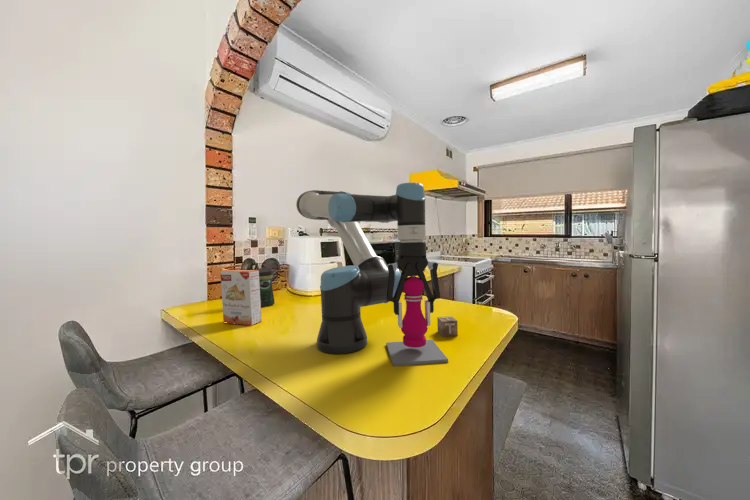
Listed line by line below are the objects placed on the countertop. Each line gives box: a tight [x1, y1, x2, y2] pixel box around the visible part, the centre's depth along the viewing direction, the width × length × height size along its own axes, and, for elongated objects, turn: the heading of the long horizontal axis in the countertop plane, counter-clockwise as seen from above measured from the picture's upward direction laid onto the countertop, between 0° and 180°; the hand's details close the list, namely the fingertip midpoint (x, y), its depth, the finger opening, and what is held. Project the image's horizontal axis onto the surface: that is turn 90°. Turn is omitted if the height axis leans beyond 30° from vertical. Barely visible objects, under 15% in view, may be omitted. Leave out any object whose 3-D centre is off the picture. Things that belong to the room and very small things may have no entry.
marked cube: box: [436, 316, 459, 338], centre depth 93 cm, size 5×5×5 cm
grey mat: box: [385, 339, 449, 367], centre depth 79 cm, size 14×14×1 cm
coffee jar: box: [254, 267, 275, 308], centre depth 142 cm, size 10×8×19 cm
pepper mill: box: [400, 275, 428, 348], centre depth 78 cm, size 7×7×20 cm
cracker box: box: [220, 269, 262, 326], centre depth 113 cm, size 14×6×21 cm, turn 71°
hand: (414, 325), depth 79 cm, fingers closed on pepper mill, 7 cm apart
